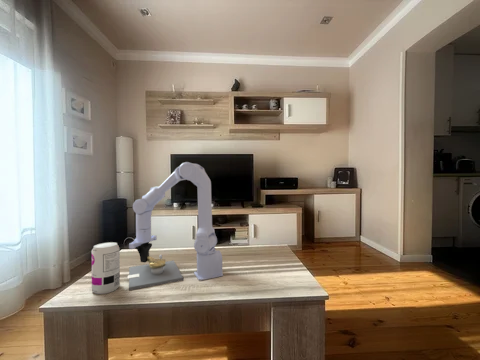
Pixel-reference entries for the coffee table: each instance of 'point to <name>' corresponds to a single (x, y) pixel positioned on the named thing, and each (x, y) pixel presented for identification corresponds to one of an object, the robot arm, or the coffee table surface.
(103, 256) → the supplement can
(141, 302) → the coffee table surface
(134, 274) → the plate
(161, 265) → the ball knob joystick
